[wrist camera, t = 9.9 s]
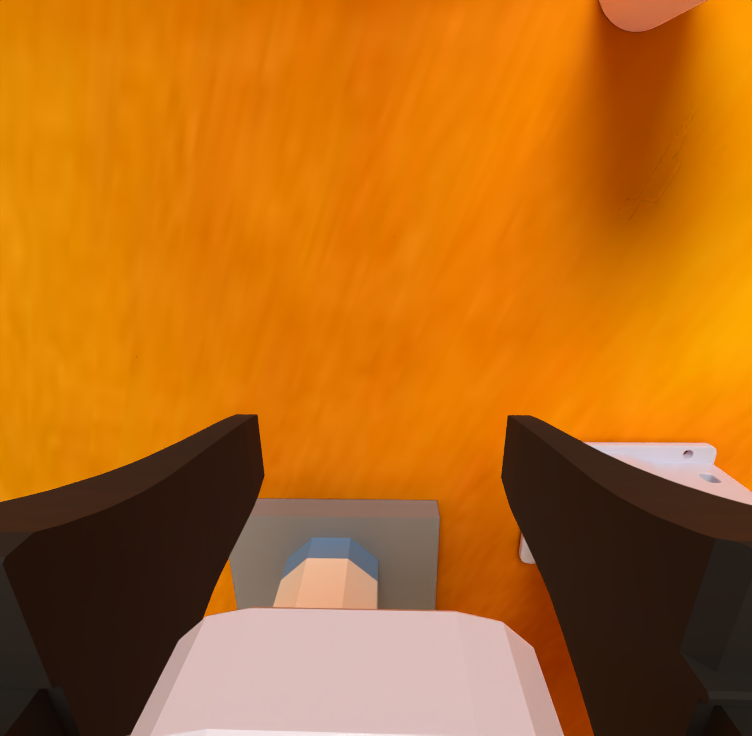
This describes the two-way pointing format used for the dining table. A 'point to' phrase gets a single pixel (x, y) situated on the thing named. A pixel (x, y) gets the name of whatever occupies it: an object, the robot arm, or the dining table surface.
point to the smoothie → (644, 12)
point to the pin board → (341, 520)
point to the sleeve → (329, 576)
